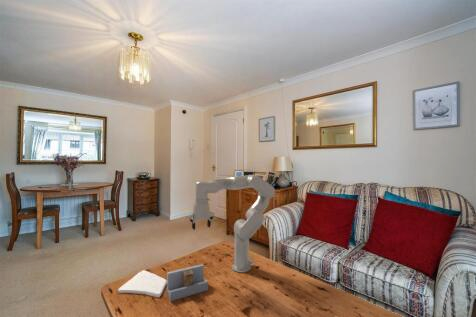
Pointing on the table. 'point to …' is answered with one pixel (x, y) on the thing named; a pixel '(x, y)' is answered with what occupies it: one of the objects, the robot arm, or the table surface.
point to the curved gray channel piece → (178, 291)
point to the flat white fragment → (144, 284)
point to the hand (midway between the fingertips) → (201, 228)
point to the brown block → (187, 278)
